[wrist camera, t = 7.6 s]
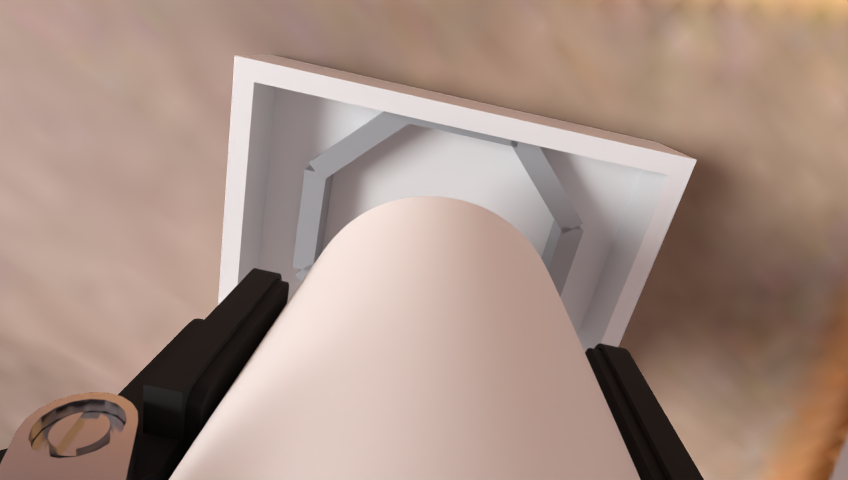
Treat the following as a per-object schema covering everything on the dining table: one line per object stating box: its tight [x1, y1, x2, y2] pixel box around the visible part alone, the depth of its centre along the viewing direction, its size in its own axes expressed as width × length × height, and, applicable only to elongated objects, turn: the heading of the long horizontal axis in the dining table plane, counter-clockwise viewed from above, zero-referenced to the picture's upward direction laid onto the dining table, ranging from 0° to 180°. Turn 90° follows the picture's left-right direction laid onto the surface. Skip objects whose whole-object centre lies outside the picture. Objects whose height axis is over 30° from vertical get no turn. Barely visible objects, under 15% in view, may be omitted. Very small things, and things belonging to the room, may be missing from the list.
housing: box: [218, 55, 697, 352], centre depth 19 cm, size 22×14×3 cm, turn 168°
